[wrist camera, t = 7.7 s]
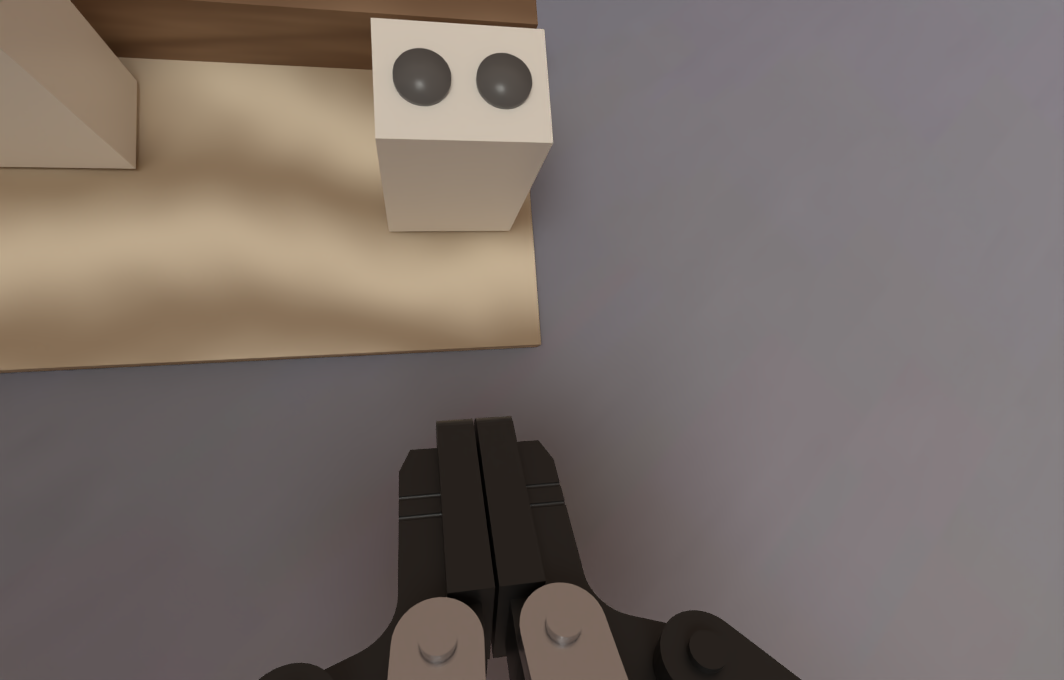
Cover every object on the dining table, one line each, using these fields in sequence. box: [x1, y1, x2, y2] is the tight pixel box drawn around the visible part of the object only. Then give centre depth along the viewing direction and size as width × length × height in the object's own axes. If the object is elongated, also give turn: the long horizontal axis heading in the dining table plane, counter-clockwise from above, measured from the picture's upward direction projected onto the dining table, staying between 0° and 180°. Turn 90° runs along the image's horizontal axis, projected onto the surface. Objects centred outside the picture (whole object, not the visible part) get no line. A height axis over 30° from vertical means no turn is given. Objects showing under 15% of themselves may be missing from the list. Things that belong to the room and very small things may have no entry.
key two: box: [371, 18, 553, 232], centre depth 23 cm, size 4×6×9 cm
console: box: [0, 0, 541, 373], centre depth 24 cm, size 15×24×5 cm, turn 94°
